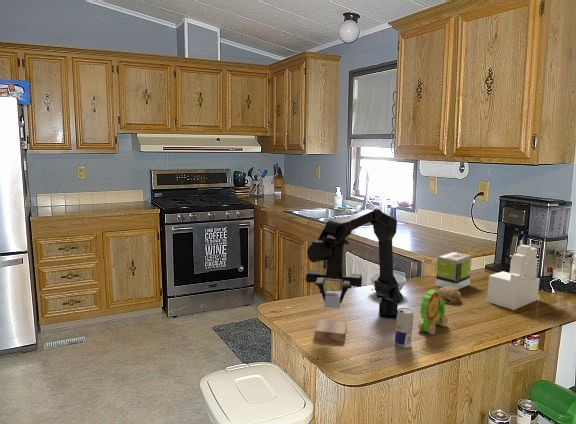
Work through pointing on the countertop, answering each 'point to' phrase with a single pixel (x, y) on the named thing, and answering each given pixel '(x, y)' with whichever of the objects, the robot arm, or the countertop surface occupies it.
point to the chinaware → (398, 278)
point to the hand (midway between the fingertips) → (332, 302)
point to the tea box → (453, 270)
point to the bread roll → (450, 294)
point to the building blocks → (516, 281)
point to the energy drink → (404, 328)
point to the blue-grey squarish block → (332, 299)
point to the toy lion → (432, 312)
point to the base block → (331, 330)
